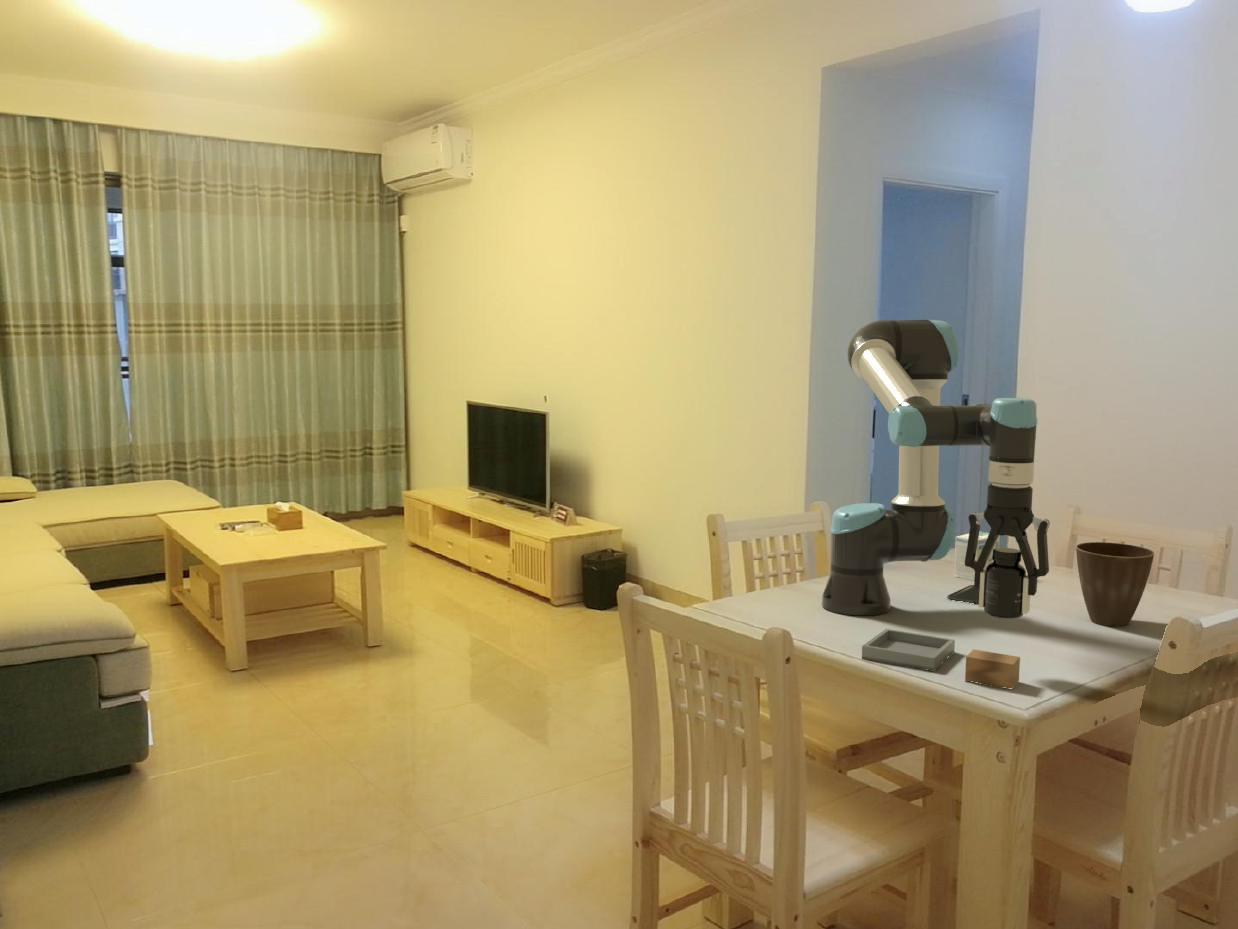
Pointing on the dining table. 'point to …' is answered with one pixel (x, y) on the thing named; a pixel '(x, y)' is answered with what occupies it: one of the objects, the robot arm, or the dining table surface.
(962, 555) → the light bulb box
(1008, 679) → the block
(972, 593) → the phone
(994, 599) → the supplement bottle
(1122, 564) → the plant pot
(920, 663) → the tray
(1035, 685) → the dining table surface
